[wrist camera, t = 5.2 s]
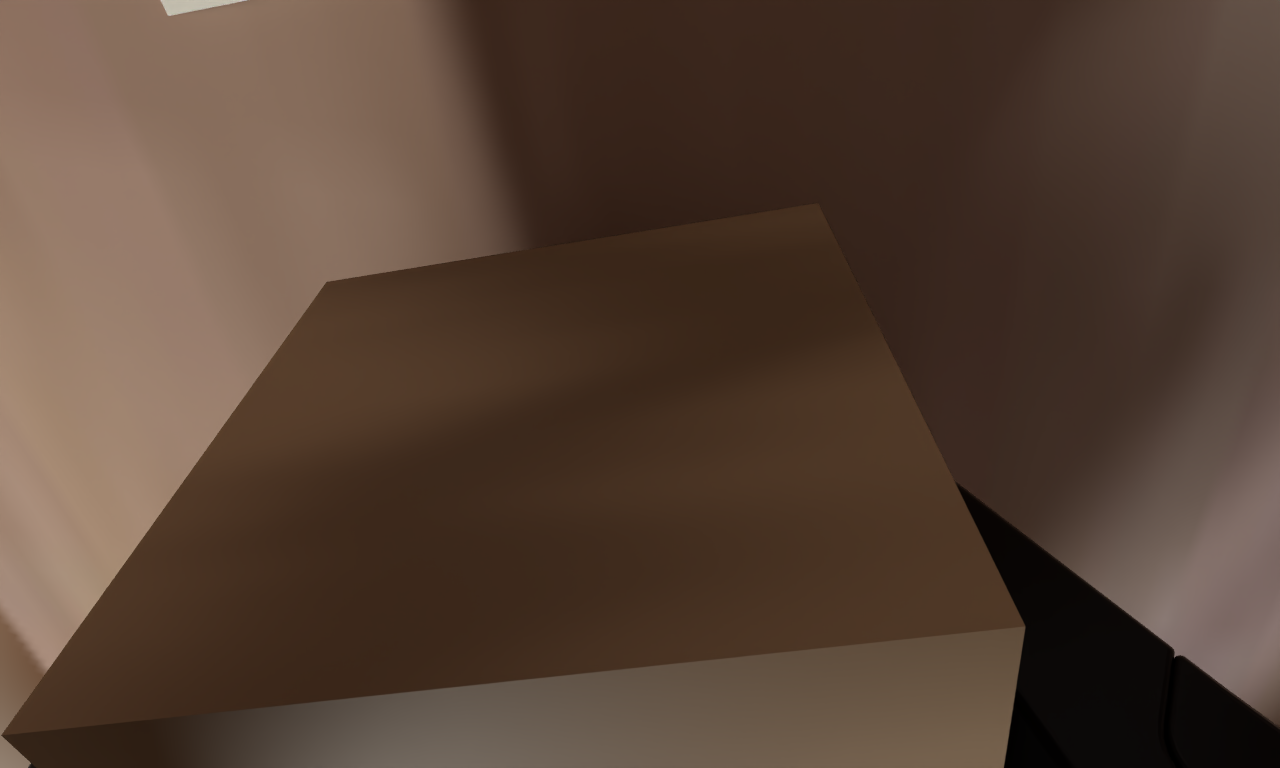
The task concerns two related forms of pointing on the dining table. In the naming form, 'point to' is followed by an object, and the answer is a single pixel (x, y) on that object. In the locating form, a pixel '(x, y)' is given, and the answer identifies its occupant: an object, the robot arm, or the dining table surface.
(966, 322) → the dining table surface
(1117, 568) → the dining table surface
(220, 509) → the walnut block
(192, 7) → the letter
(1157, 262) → the dining table surface
